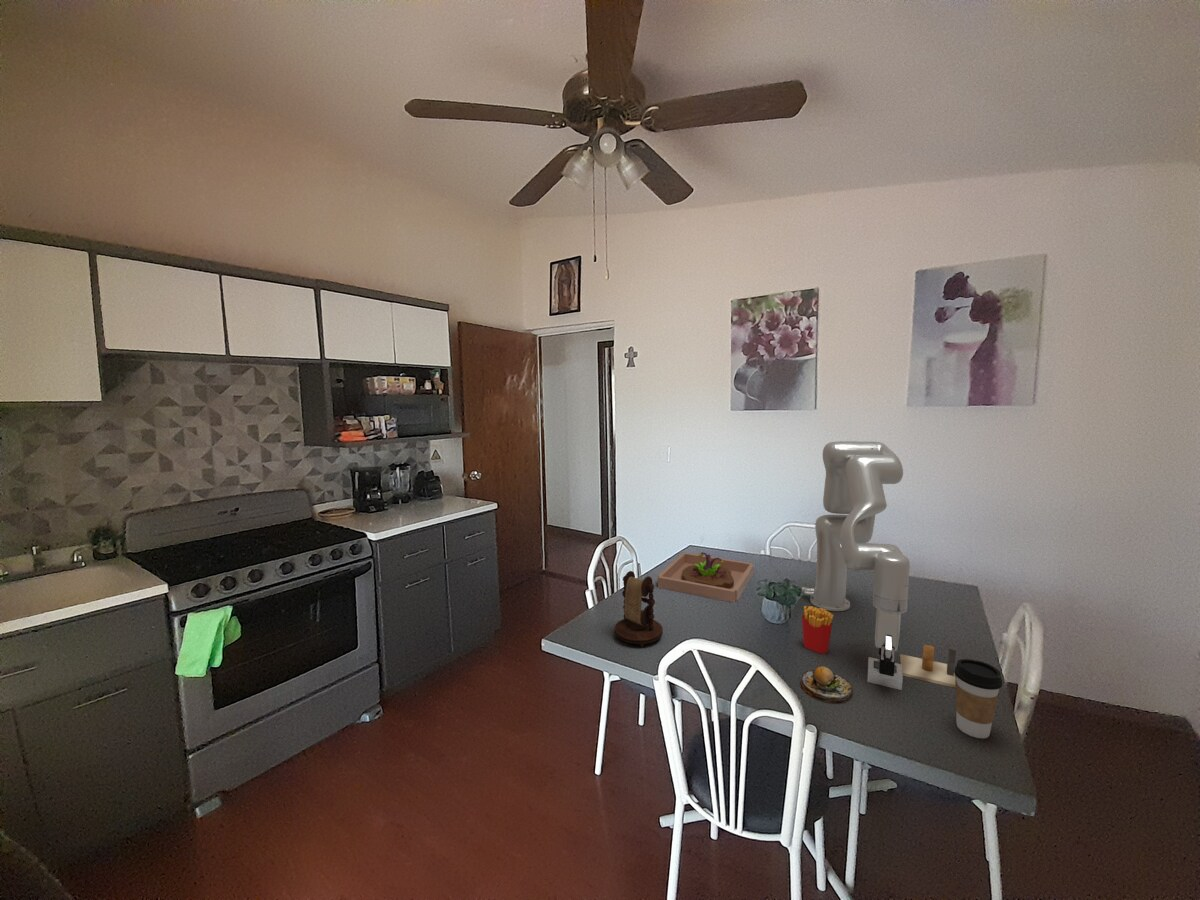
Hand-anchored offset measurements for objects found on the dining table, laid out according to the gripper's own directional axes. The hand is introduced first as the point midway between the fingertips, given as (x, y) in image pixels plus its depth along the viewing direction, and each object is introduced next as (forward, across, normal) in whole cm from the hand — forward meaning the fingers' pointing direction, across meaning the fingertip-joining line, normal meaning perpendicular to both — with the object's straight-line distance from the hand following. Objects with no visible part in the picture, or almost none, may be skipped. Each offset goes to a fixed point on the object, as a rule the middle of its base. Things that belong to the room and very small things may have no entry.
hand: (886, 664), depth 128 cm
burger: (+5, +10, -13) cm, 18 cm away
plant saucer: (+3, -43, -60) cm, 74 cm away
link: (+4, -1, 0) cm, 4 cm away
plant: (+3, -43, -60) cm, 74 cm away
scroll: (+4, +8, -66) cm, 67 cm away
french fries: (+4, -9, -17) cm, 20 cm away
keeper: (+4, -10, +10) cm, 14 cm away
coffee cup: (+5, +11, +17) cm, 21 cm away
